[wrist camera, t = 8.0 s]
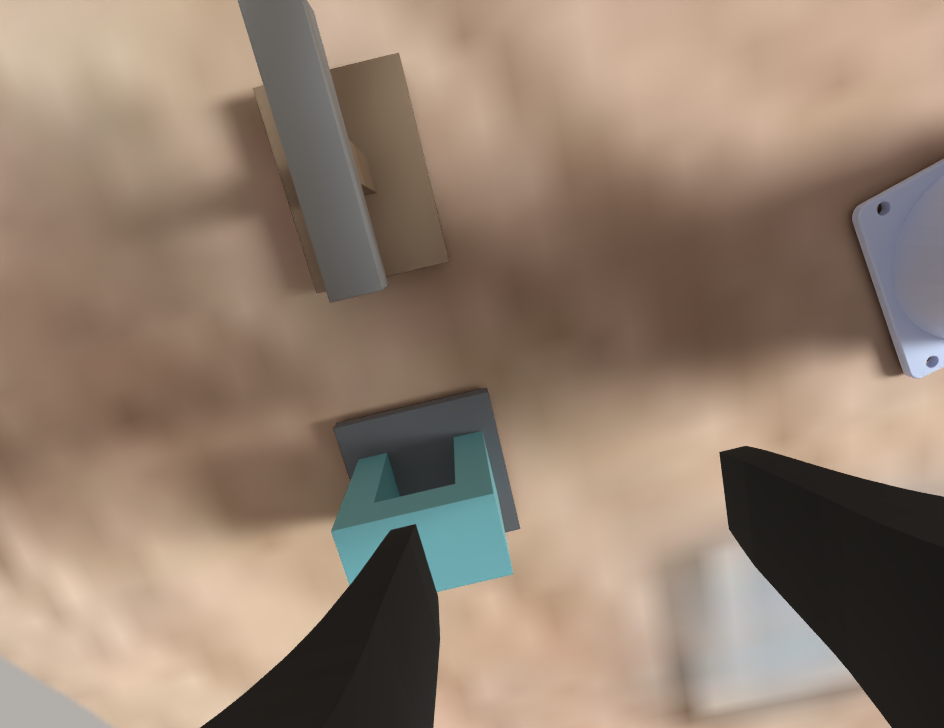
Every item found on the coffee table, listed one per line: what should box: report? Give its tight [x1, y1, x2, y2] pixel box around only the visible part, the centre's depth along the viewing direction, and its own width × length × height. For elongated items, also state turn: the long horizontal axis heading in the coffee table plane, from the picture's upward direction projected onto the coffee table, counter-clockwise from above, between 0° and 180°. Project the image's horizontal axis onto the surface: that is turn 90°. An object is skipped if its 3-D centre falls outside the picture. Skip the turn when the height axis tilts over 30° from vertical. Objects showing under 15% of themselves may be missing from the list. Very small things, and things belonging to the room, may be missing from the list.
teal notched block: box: [331, 431, 513, 592], centre depth 19 cm, size 5×3×5 cm, turn 103°
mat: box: [333, 388, 520, 532], centre depth 22 cm, size 6×6×1 cm
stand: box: [238, 0, 449, 303], centre depth 16 cm, size 5×7×7 cm
